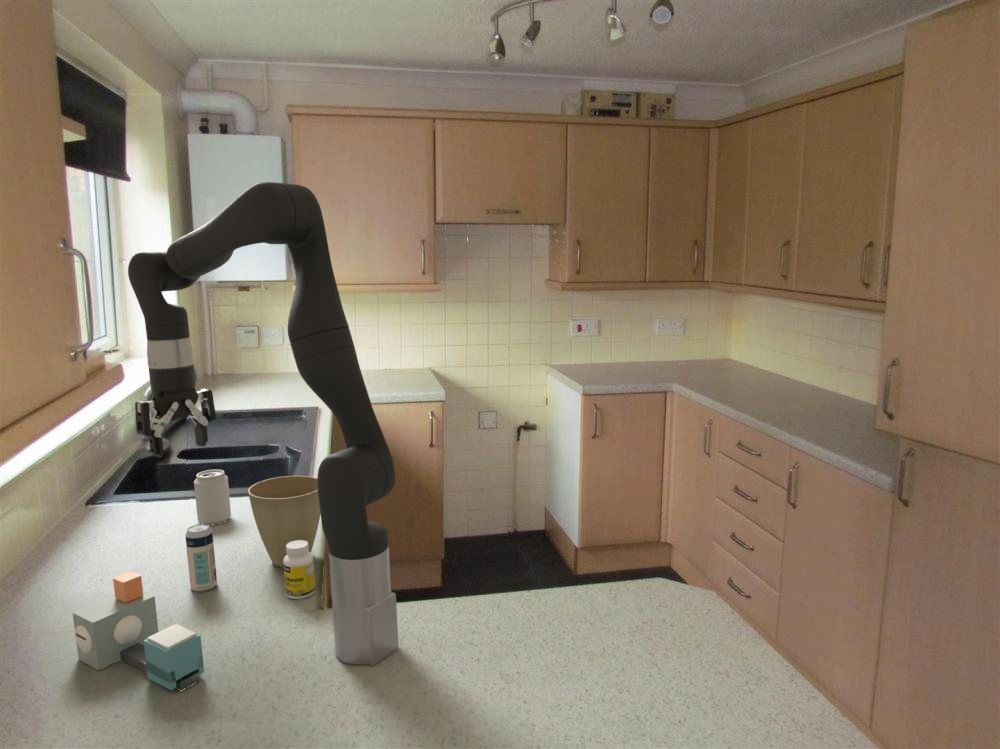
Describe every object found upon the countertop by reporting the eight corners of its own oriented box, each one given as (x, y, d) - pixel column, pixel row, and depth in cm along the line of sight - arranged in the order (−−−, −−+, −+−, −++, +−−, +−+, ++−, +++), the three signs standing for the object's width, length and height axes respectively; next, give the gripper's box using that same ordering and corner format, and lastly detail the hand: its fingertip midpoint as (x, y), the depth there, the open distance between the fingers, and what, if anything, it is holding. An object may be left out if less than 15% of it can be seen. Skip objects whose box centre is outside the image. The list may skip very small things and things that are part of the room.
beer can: (209, 579, 143) (203, 521, 141) (222, 586, 140) (216, 527, 138) (185, 588, 139) (179, 529, 137) (198, 595, 136) (192, 534, 134)
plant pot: (299, 580, 142) (293, 502, 139) (238, 569, 147) (231, 494, 144) (342, 550, 155) (338, 478, 152) (285, 541, 161) (280, 472, 158)
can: (219, 512, 179) (215, 466, 177) (237, 519, 175) (233, 471, 173) (191, 522, 173) (186, 474, 171) (209, 529, 169) (205, 479, 167)
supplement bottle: (279, 597, 135) (275, 547, 133) (297, 585, 140) (293, 536, 138) (304, 602, 133) (300, 551, 131) (321, 589, 138) (318, 540, 136)
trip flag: (143, 595, 119) (141, 575, 118) (125, 603, 116) (123, 582, 116) (133, 591, 121) (130, 571, 120) (115, 598, 118) (112, 578, 118)
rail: (199, 681, 109) (198, 672, 108) (181, 691, 106) (180, 682, 106) (139, 651, 117) (138, 642, 117) (121, 659, 115) (120, 651, 115)
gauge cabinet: (160, 641, 120) (155, 596, 119) (96, 673, 111) (90, 624, 110) (138, 631, 124) (133, 587, 122) (75, 661, 115) (68, 614, 114)
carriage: (204, 672, 110) (200, 632, 109) (171, 690, 105) (166, 649, 104) (180, 660, 113) (176, 622, 112) (147, 677, 109) (143, 637, 108)
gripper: (145, 370, 123) (155, 463, 126) (218, 359, 134) (226, 444, 137) (121, 368, 127) (131, 457, 130) (194, 357, 139) (202, 439, 141)
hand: (180, 450), depth 133 cm, fingers open, 8 cm apart
